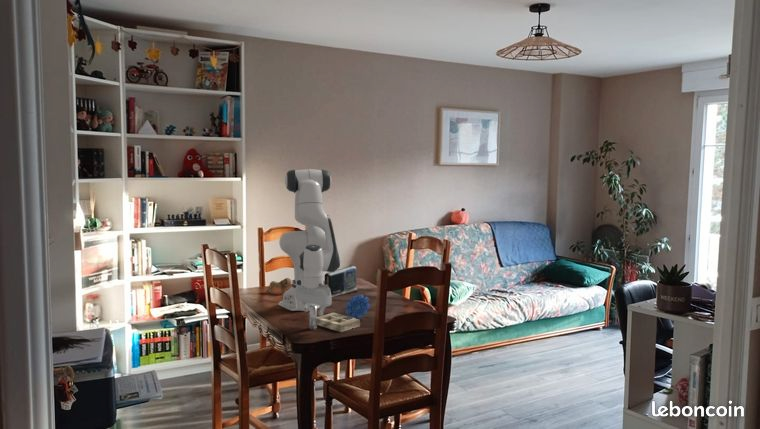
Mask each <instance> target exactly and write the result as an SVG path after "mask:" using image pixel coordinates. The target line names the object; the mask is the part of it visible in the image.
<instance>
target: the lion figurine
mask: <svg viewBox="0 0 760 429" xmlns="http://www.w3.org/2000/svg"><path fill="white" fill-rule="evenodd" d="M291 282H292V279H291V278H289V277H286V278H284V279H281V280H280V281H274V280H271V282H270V283H269V286H268V289H267V290H266V291H265V293H268V292H270V293H271V295H272V294H273V295H274V294H275V293H274V292H273V289H274V288H275V289H277V290H278V289H279V290H280V291H281V295H284V293H285V292H286V291H285V290H287V289H288V288H289V287H291V286H292V283H291Z"/></svg>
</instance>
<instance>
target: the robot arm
mask: <svg viewBox="0 0 760 429" xmlns="http://www.w3.org/2000/svg"><path fill="white" fill-rule="evenodd" d="M332 181H333V180H332V176H331V173H330V172H329V171H328V170H326V169H316V168H315V169H313V168H308V169H306V168H305V169H291V170H288V171H287V172H286V175H285V177H284V185H285V187H286V190H288V191H289V192H292V193H294V194H295V196H294V218H295V219H294V220H296V222H297V223H299V224H300V225H303V226H305V227H306V230H292V231H288V232H284V233H282V234H281V236H280V238H279V242H278V243H279V247H280V249H281V251H283V253H285V254H286V255H287V256H288V257H289V258H290V259H291V261H292V265H293V272H294V276H293V278H294V279H293V280H292V279H291V286H290V288H289V289H288V290H287V289H286V291H284V292H285V293H284V295H283V296H282V301H279V302H278V303H277V305H278V306H280V307H282V308H284V309H286V310H288V311H292V312H293V311H294V312H296V311H303V312H305V313H308V312H310V306H311V305H316V306H317V316H323V315H324V311H325V309H326V308H327V307H330V306H332V304H333V300H332V298H333V297H331V291H330V288H329V287H328V285H324V284H325V283H324V272H326V273H328V272H334V271H336V270H338V269H340V266H341V256H340V254H339V251H338V245H337V242H336V241H337V240H336V236H335V232H334V226H333V222H332V220H331V217H330V215H328V214H327V213H326V211H325V210H324V205H323V202H324V200H323V194H322V193H324V192H327V191H328V190H329V189H331V186H332ZM327 287H328V288H327ZM318 309H319V310H318Z"/></svg>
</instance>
